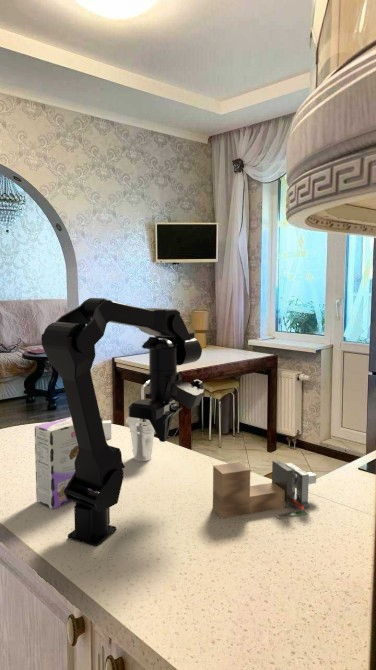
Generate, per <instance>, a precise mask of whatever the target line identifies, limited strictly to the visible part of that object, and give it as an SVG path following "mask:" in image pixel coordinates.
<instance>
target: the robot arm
mask: <svg viewBox="0 0 376 670" xmlns="http://www.w3.org/2000/svg"><path fill="white" fill-rule="evenodd" d="M108 323H113V324H118V325H125V326H129V327H130V326H131V327H134V328H137V329H139V331H140V332H142V333H145V334H147V335H149V337H148V339H147V340H146V341H145V342H143V344H142V345H141V346H142V347H141V348H142V349H146V350H148V351H149V354H148V359H149V360H148V361H149V362H148V363H149V365H148V366H149V371H148V373H145V376H144V377H145V380H149V384H148V389H149V392H145V393H144V397H145V399H144V400H143V399H141V398H140V399H138V400H136V401H134V402H132V403H131V404H130V405H129V406H128V417H133V418H140V419H147V420H149V421H150V422H151V424H152V426H153V428H154V430H155V432H154V433H155V434H156V436H157V438H158V440H159V442H161V443H165V442H167V438H168V435H169V431H170V428H171V425H172V422H173V419H174V416H175V415H176V414H177V413H178V412H180V411H181V410H182V409H183V407H182V406H177V403H179V404H181V405H183V406H184V408H186V409H189V410H193V409H195V407H196V406H197V407H198V406H200V403H201V400H202V398H203V397H204V396H205V389H204V382H203V381H201V380H199V379H195V380H193V381H192V382H191V383H190V382H189V381H187V382H186V381H183V379H182V378H183V377H182V374H181V372H177V371H178V368H177V366H182V365H187V364H191V363H195V362H198V361H199V359H200V358H201V357H202V354H203V349H202V346H201V344H200V342H199V340H198V339H197V338H195V332H192V331H191V332H190V331H189V330H188V327H187V325H186V324H185V322H184V319H183V318H182V316H181V312H180V311H179V310H177V309H175V308H162V307H161V308H160V307H159V308H157V307H153V308H152V307H150V308H149V307H141V306H135V305H130V304H125V303H123V302H117V301H113V300H110V299H109V298H107V297H106V298H102V297H101V298H100V297H89V298H88V299H86V300H84V301H83V302H82V303H81V304H80V305H79V306H77V307H76V308H74V309H71V310H70V311H69V312H67V313H64V314H63V315H61V316H60V317H59V318H58V319H57V320H55V322H51V323H50V324H48V325H47V326H46V328H45V329H44V332H43V333H42V334H41V339H40V340H41V346H42V349H43V351H44V354H45V356H46V358H47V360H48V362H49V364H50V365H51V366H52V367H53V369H54V370H55V371H56V372H57V373H58V374H59V376H60V378H61V381H62V384H63V385H62V386H63V389H64V393H65V397H66V401H67V406H68V410H69V414H70V417H71V418H72V422H73V426H74V430H75V434H76V438H77V443H78V447H79V451H78V454H77V456H76V459H75V473H74V475H73V476H72V478H71V480H70V481H69V483H68V485H67V486H66V488H65V490H64V494H65V496H66V499H67V500H70V501H71V502H73V503H75V505H74V507H73V510H74V529H73V530H72V531H71V532H69V533H68V534H67V539H69V540H70V539H71V540H74V541H77V542H81V543H84V544H88V545H92V546H99V545H100V544H101V543H103V542H104V541H105V540H106V539H108V538H109V537H110V536H111V535H112V534H114V533H115V531H117V526H114V525H111V524H110V523H111V521H110V519H111V518H110V511H111V507H113V506H115V505H117V504H119V503H118V502H119V498H120V494H121V490H122V485H123V480H124V469H125V468H126V466H125V464H124V462H123V458H122V457H123V456H122V451H121V449H120V448H118V447H117V446H116V447H115V446H111V445H109V443H108V442H107V439H106V438H105V434H104V429H103V425H102V421H103V419H102V420H101V412H100V407H99V402H98V399H97V394H96V389H95V385H94V381H93V377H92V372H91V371H92V366H93V364H94V361H95V358H96V347H95V345H96V344H98V342H99V341H100V340H101V339H102V338H103V337H104V336H105V332H106V328H107V325H108ZM176 402H177V403H176ZM89 489H91V490H94V491H91V490H89Z"/></svg>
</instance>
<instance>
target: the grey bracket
mask: <svg viewBox="0 0 376 670" xmlns="http://www.w3.org/2000/svg"><path fill="white" fill-rule="evenodd" d="M271 465H272V467H271V468H272V469H271V471H272V472H271V483H275V484H276V485H278V486H279V487H280V488H282V489H283V490H284V491H285V504H289V503H291V502H292V503H293V504H295V505H296V506H297V507H298V508H300V509H299V510H300V511H301V510H305V508H304V506H303V505H302V504H300V503H299V502H298V501H296V500H295V499H292V487H295V488H296V487H297V475H296V474H294V475H293V470H292V469H290V468H289V467H287V466H286V465H285V463H284V462H281V461H279V459H276V460H275V459H274V460H272V464H271ZM307 473H308V474H309V485H312V484H313V485H314V484H316V483H317V474H316V473H313V472H312V471H310V472H309V471H308V472H307Z"/></svg>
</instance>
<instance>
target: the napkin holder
mask: <svg viewBox="0 0 376 670" xmlns="http://www.w3.org/2000/svg"><path fill="white" fill-rule="evenodd" d="M102 425H103V429H104V434H105V438H106V440H112V420H111V419H110V420H102Z"/></svg>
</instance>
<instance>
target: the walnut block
mask: <svg viewBox="0 0 376 670" xmlns="http://www.w3.org/2000/svg"><path fill="white" fill-rule="evenodd" d="M212 467H213V468H212V510H214V512H215V513H216V514H217V515H218V516H219V517H220V519H225V518H226V517H227V518H233V517H238V516H243V515H250V514H255V513H260V512H266V511H272V510H278V509H283V508H285V504H286V502H285V491H284V490H283V489H282V488H280V487H279V486H278V485H276V484H275V483H272V482H267V483H261V484H255V485H251V469H250V468H249V467H247V466H246V465H245V464H243V463H242V462H241V461H238V462H237V461H236V462H231V463H225V464H224V463H223V464H216V465H212ZM227 518H226V519H227Z"/></svg>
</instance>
